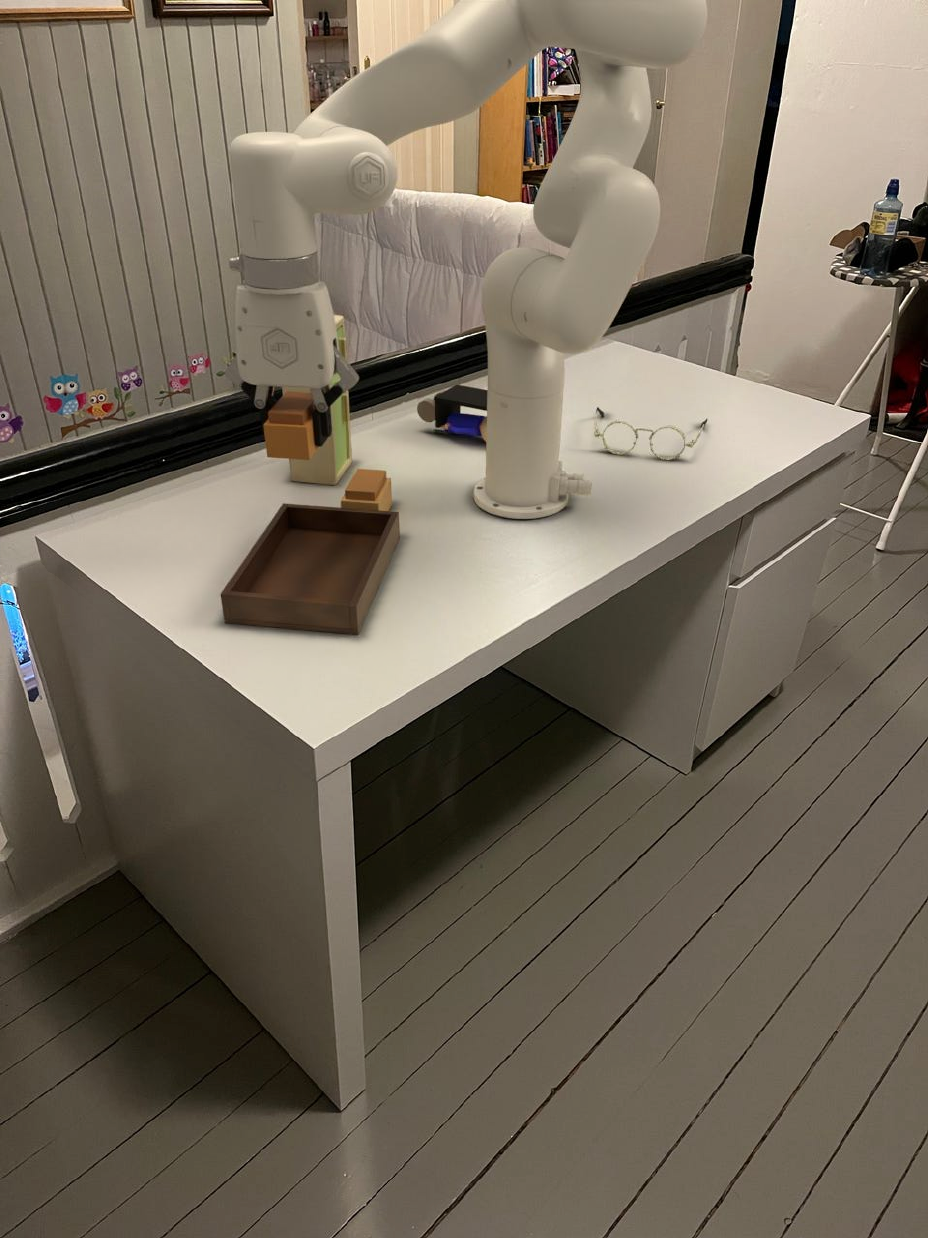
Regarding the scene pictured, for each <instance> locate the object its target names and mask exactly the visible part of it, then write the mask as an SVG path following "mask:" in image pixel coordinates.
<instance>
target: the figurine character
mask: <svg viewBox="0 0 928 1238" xmlns="http://www.w3.org/2000/svg"><path fill="white" fill-rule="evenodd" d="M487 390H488V389H483V388H479V387H473V386H468V385H462V384H455V385H454V386H452V387H450V388H448V389H446V390H441V391H440V392H437V393H436V394H434V397H433V398H429V397H428V398H425V399H423V400H421V401H420V402H418V404H417V407H416V411H417V414H418V417H419V418H420V419H421V420H422V421H424V422H425V423H433V422H434V427H435V429H433V430H432V431H433V432H434V433H437V434H446V435H449V434H451V433H453V434H456V435H458V434H460V435H466V436H467V435H468V436H476V437H481V438H482V439H483V441H485V442H486V438H487V415H479V414H471V413H463V412H462V411H461V409H462V408H461V407H463V408H468V409H475V410H479V411H484V412H487ZM442 427H444V429H440V428H442Z"/></svg>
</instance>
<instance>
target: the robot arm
mask: <svg viewBox="0 0 928 1238" xmlns="http://www.w3.org/2000/svg"><path fill="white" fill-rule="evenodd" d="M707 22H708V6H707V0H458V1H457V2H456V3H455V4H454V5H453V6H452V7H450V8H449V10H447V11H446V12H445V13H444V14H443V15H442V16H440V17H439V18H438V19H437V20H436V21H435V22H434V23H433V24H432V25H431V26H429V27H428V28H427V29H426V30H425V31H423V32H422V33H421V34H420V35H418V36H417V37H416V38H414V39H413V40H410V41H408V42H407V43H405V44H404V45H403V44H402V46H400V47H399V48H397V49H396V50H394V51H392V52H391V53H390V54H388V55H387V56H385V57H384V58H382V59H380V60H379V61H377V62H375V63H373V64H372V65H371V66H369V67H367V68H366V69H364V70H363V71H361V72H359V73H358V74H356V75H355V76H353V77H352V78H351V79H349V80H347V81H346V82H344V84H342V85H341V86H340V87H338V89H337V90H335V91H334V92H333V93H332V94H331V95H329V96H328V97H327V98H326V99H325V100H324V101H323V102H322V103H320V104H319V106H317V107H316V108H315V109H314V110H313V111H312V112H311V113H310V114H308V116H307V117H306V118H305V119H303V121H301V123H300V124H298V126H297V127H296V129H295V130H294V132H293V133H292V132H284V131H258V132H257V131H256V132H255V131H254V132H248V133H243V134H240V135H238V136H235V138H234V139H232V140H231V143H230V146H229V151H228V153H229V164H230V173H231V182H232V189H233V199H234V207H235V214H236V222H237V233H238V239H239V249H240V252H239V254H238V255H237V256H230V257H229V259H228V265H229V269H230V271H235V272H238V273H240V275H241V279H242V281H243V282H241V283H239V284H238V285H237V286H236V292H235V293H236V294H235V306H234V307H235V308H234V310H235V312H234V314H235V320H234V322H235V323H234V324H235V325H234V326H235V331H234V332H235V351H236V354H235V356H234V357H233V358H232V361H231V362H230V363H229V365H228V366H227V368H226V369H225V372H224V376H225V377H226V378H227V379H228V380H230V381H231V382H232V383H233V384H235V385H236V386H237V387H239V388H240V389H241V390H242V391H243V393H245V394H246V396H248V397H249V398H250V399H251V400H252V401H253V403H254V406H255V407H256V408H257V409H259V415H260V416H259V417H260V424H261V431H262V433H264V426H263V425H264V423H265V422H266V421H267V420H268V419H269V416H268V412H269V411H270V410H271V409H272V407H273V406H274V405H275V404H276V403H277V402H278V400H277V399H276V398H275V397H274V392H275V387H280V388H282V387H296V388H309V389H310V391H311V394H312V397H313V400H314V403H315V410H314V411H313V413H312V419H313V427H314V438H315V445H316V446H318V447H322V445H323V444H324V443H325V441H326V440H327V438H328V437H330V436H331V433H332V423H331V410H330V406H331V405H332V404H333V403H334V402H335V401H336V400H337V399H338V398H339V397H340V396H341V395H342V394H343V393H345V392H346V391H347V390H348V391H349V390H351V389H352V388H353V387H354V386H355V385H356V384H357V383H358V382H359V380H360V376H359V374H358V372H356V370H355V369H354V367H353V366H352V365H351V364H350V362H347V360H346V359H345V358H344V357H343V355H342V354H341V353H340V352H339V345H338V337H337V331H336V324H335V319H334V315H335V314H334V310H333V306H332V301H331V297H330V294H329V290H328V287H327V284H326V282H324V281H320V280H321V278H320V266H319V255H318V241H317V229H316V227H317V226H316V216H315V215H316V214H335V215H348V216H357V215H366V214H369V213H373V212H375V211H377V210H378V209H381V208H382V207H383V206H384V205H385V204H386V203H387V202H388V201H389V200H390V199H391V197H392V195H393V193H394V191H395V190H396V186H397V181H398V168H397V163H396V160H395V157H394V155H393V153H392V152H391V149H390V148H389V146H390V145H391V144H393V143H395V142H396V141H399V140H400V139H403V138H404V137H405V136H407V135H410V134H412V133H414V132H417V131H420V130H424V129H426V128H430V127H436V126H440V125H444V124H448V123H451V122H454V121H458V120H459V119H461V118H464V117H466V116H470V115H471V114H473V113H475V112H476V111H477V110H479V108H481V107H482V106H484V104H485V103H486V102H488V100H489V99H490V98H492V96H493V95H495V94H496V93H497V92H498V91H499V90H500V89H501V88H502V87H503V86H504V85H505V84H506V83H508V82H509V81H510V80H511V79H512V78H513V77H514V76H515V75H516V74H517V73H519V72H520V71H521V70H522V69H523V68H524V67H525V66H527V65H528V64H529V63H530V62H531V61H532V60H533V59H534V58H535V57H537V55H539V54H540V53H542V51H543V50H545V49H547V48H560V49H571V50H572V49H573V50H574V51H575V54H576V57H577V62H578V67H579V74H580V77H579V78H580V93H579V98H578V103H577V106H576V109H575V112H574V114H573V117H572V119H571V121H570V124H569V126H568V128H567V130H566V132H565V135H564V137H563V138H562V141H561V142H560V144H559V147H558V149H557V151H556V153H555V155H554V157H553V159H552V161H551V163H550V165H549V168H548V170H547V172H546V173H545V175H544V178H543V179H542V182H541V184H540V186H539V189H538V191H537V194H536V197H535V199H534V203H533V206H532V207H533V208H532V215H533V216H532V217H533V222H534V225H535V227H536V229H537V231H539V233H540V234H541V235H542V236H543V237H545V238H546V239H547V240H549V241H551V242H553V243H555V244H557V245H559V246H562V247H565V248H567V249H569V250H568V252H567V254H566V256H565V258H564V257H562V256H560V255H557V254H555V253H552V252H548V251H545V250H543V249H539V248H534V247H529V246H528V247H527V246H518V247H514V248H510V249H507V250H505V251H504V252H502V253H500V254H499V255H498V256H497V257H495V258H494V260H493V261H492V262H491V263H490V265H489V266H488V268H487V270H486V272H485V274H484V278H483V281H482V286H481V306H482V308H481V309H482V314H483V315H482V316H483V321H484V328H485V335H486V345H487V389H486V390H487V411H486V416H487V438H486V441H485V442H486V445H485V446H486V447H485V477H484V478H482V479H480V480H479V481H478V482H476V484H475V486H474V487H473V500H474V502H475V504H476V505H477V506H478V507H479V508H481V510H483V511H485V512H487V513H489V514H491V515H494V516H496V517H497V516H498V517H502V518H507V519H514V520H515V519H516V520H532V519H540V518H541V519H542V518H544V517H549V516H551V515H554V514H557V513H558V512H560V511H562V510H563V509H564V508H565V507H566V506H567V504H568V501H569V494H577V495H579V496H592V485H593V480H591V479H590V480H589V479H584V473H567V471H566V470H562V468H563V461H562V460H560V449H561V434H562V419H563V404H564V391H565V378H566V377H565V375H566V365H565V354H566V355H576V354H580V353H584V352H586V351H588V350H589V349H592V347H594V346H595V345H596V344H597V343H598V342H599V341H600V340H601V338H602V337H603V336H604V335H605V334H606V332H607V331H608V330H609V328H610V326H611V325H612V323H613V322H614V319H615V317H616V316H617V314H618V313H619V310H620V308H621V307H622V304H623V303H624V301H625V299H626V297H627V296H628V293H629V291H630V290H631V287H632V286H633V283H634V282H635V280H636V278H637V276H638V275H639V273H640V271H641V269H642V267H643V265H644V263H645V261H646V259H647V257H648V255H649V253H650V251H651V249H652V247H653V244H654V242H655V240H656V236H657V234H658V231H659V225H660V219H661V201H660V196H659V193H658V190H657V188H656V186H655V184H654V183H653V181H652V179H650V177H648V176H647V174H645V173H644V172H641V171H639V170H637V169H635V168H634V166H635V164H636V162H637V159H638V158H639V155H640V153H641V150H642V148H643V146H644V144H645V141H646V139H647V136H648V133H649V130H650V126H651V121H652V96H651V89H650V81H649V76H648V71H647V69H652V70H653V69H654V70H666V69H672V68H674V67H677V66H678V65H681V64H682V63H684V62H685V61H686V60H688V59H689V58H690V57H691V55H693V53H694V52H696V50H697V48H698V47H699V45H700V44H701V41H702V39H703V37H704V34H705V32H706V28H707ZM336 373H338V374H339V376H340V377H341V380H340V381H338V382H337V383H335V384H334V385H333V386H332V387H331V388H330V386H329V383H330V381H332V379H333V375H334V374H336Z"/></svg>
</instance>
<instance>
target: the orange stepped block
mask: <svg viewBox="0 0 928 1238" xmlns="http://www.w3.org/2000/svg"><path fill="white" fill-rule="evenodd" d="M314 410H315V403H314V400H313V397H312V394H311V393H305V392H288V391H287V392H286V393H285V394H284V395H283V394H282V396H281V397H280V398H279V399H278V400H277V403H276V404H275V405H274V406H273V407H272V409H271V410H270V411H269V412H268V416H269V419H268V420H267V421H266V422H265V423H264V425H263V426H264V434H263V435H264V440H265V441H264V442H265V450H266V457H267V458H271V459H287V460H289V459H300V460H310V459H311V457H312V456H313V455H314V453H315V452H316V450H317V449H318V448H319V447H318V446H316V445H315V438H314V427H313V419H312V413H313V411H314Z"/></svg>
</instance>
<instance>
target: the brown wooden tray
mask: <svg viewBox="0 0 928 1238" xmlns="http://www.w3.org/2000/svg"><path fill="white" fill-rule="evenodd" d="M400 531H401V529H400V512H399V511H393V510H391V511H390V510H389V511H379V510H366V509H352V508H341V507H337V506H336V507H335V506H323V505H310V504H297V503H296V504H295V503H286V502H284V503H282V504H281V506H280V507H279V508H278V510H277V512H276V513H275V514H274V516H273V517H272V519H271V520H270V521H269V523H268V525H267V526H266V527H265V529H264V530H263V532H262V533H261V534H260V536H259V537H258V539H257V541H256V542H255V543H254V545H253V546H252V547H251V549H250V550H249V552H248V554H247V555H246V556H245V557H244V559H243V561H242V562H241V563H240V565H239V567H238V568H237V569H236V571H235V572H234V574H233V576H232V577H231V578H230V580H229V581H228V582H227V584H226V585H225V587H224V588H223V590H222V591H221V593H219V594H220V601H221V602H220V603H221V608H222V613H223V620H224V623H225V624H235V625H245V626H258V627H268V628H280V629H291V630H293V629H294V630H302V631H312V632H313V631H314V632H324V633H325V632H326V633H334V634H335V633H336V634H346V635H359V634H360V632H361V629H362V627H363V624H364V622H365V620H366V618H367V615H368V613H369V610H370V608H371V606H372V603H373V601H374V599H375V596H376V595H377V592H378V589H379V587H380V585H381V582H382V580H383V578H384V576H385V573H386V571H387V568H388V566H389V564H390V561H391V559H392V558H393V555H394V552H395V550H396V547H397V545H398V543H399V540H400V538H401V534H400V533H401V532H400Z"/></svg>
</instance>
